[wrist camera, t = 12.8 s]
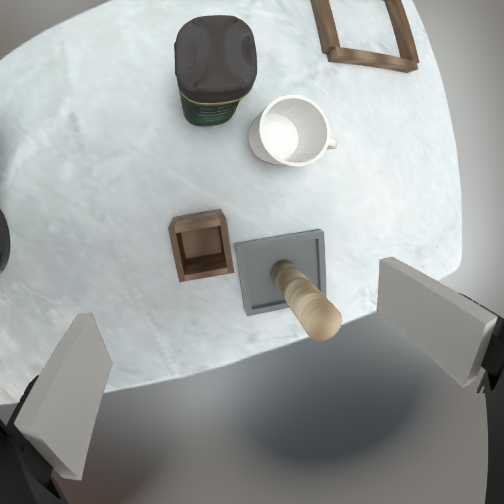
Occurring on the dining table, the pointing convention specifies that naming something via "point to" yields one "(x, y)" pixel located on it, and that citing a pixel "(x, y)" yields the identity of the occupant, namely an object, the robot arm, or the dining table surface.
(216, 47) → the coffee jar
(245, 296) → the tray
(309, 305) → the dowel
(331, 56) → the frame
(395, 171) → the dining table surface
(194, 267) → the pen cup
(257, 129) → the mug
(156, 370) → the dining table surface
